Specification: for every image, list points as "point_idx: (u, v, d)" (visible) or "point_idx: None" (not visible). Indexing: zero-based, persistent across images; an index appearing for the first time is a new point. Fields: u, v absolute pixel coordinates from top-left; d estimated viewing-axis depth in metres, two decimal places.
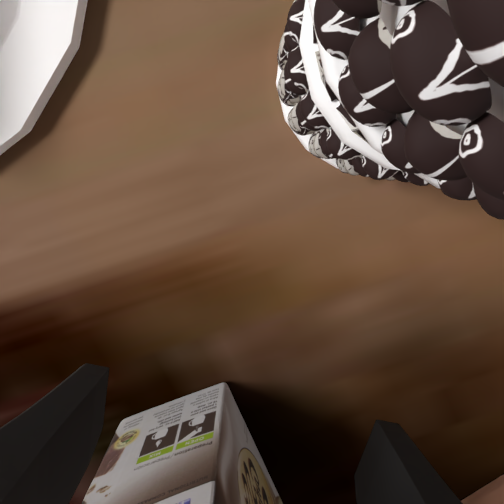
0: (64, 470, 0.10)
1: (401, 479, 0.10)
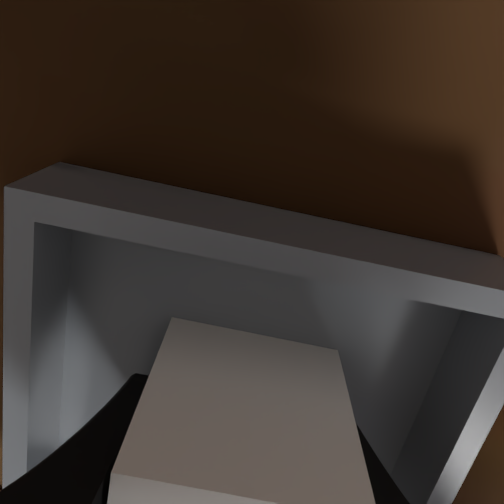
0: None
1: None
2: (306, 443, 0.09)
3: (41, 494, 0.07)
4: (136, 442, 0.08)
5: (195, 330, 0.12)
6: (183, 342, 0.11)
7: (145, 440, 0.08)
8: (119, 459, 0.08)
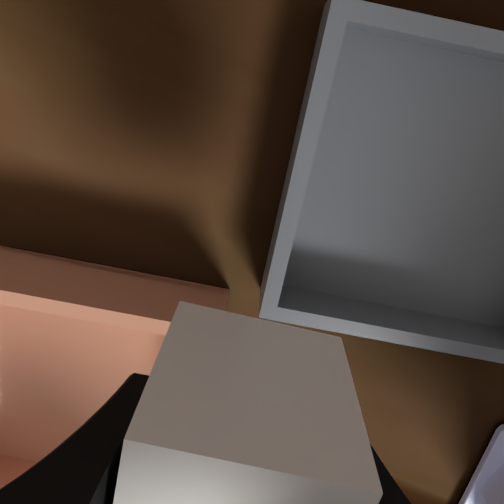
0: None
1: None
2: (311, 420, 0.09)
3: (39, 493, 0.07)
4: (147, 412, 0.08)
5: (202, 313, 0.12)
6: (191, 324, 0.11)
7: (156, 411, 0.08)
8: (131, 427, 0.08)
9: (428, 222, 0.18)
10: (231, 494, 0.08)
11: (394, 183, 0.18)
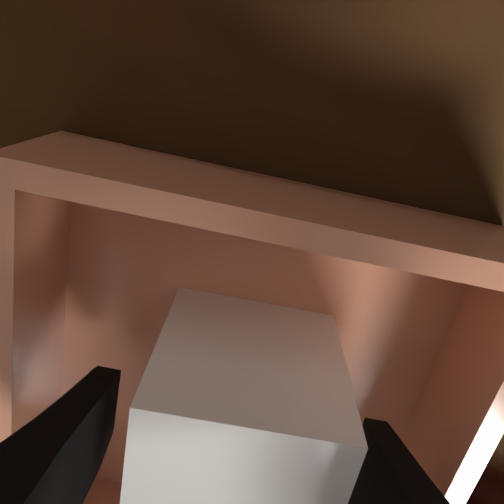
0: (78, 473, 0.10)
1: (388, 476, 0.10)
2: (303, 387, 0.10)
3: None
4: (150, 385, 0.09)
5: (200, 298, 0.13)
6: (190, 307, 0.12)
7: (159, 384, 0.09)
8: (136, 398, 0.09)
9: None
10: (230, 455, 0.09)
11: None
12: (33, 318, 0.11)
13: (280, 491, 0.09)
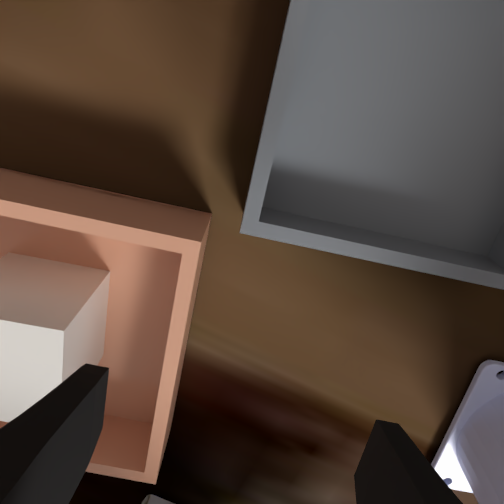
0: (64, 470, 0.10)
1: (401, 479, 0.10)
2: (49, 304, 0.17)
3: None
4: None
5: (19, 258, 0.20)
6: (7, 263, 0.19)
7: None
8: None
9: (414, 142, 0.18)
10: None
11: (380, 99, 0.17)
12: None
13: (24, 358, 0.16)
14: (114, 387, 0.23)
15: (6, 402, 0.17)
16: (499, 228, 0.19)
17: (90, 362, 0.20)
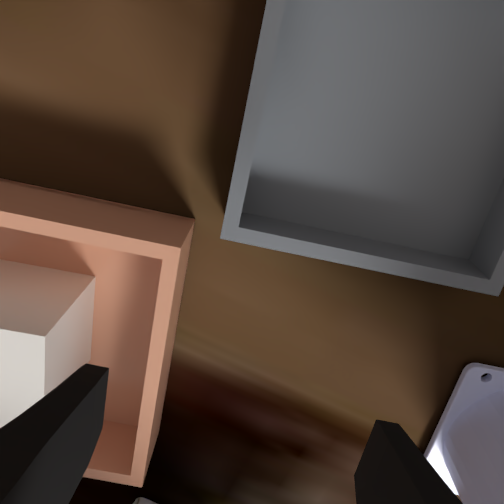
0: (64, 470, 0.10)
1: (401, 479, 0.10)
2: (32, 310, 0.17)
3: None
4: None
5: (5, 264, 0.20)
6: None
7: None
8: None
9: (392, 147, 0.18)
10: None
11: (358, 105, 0.17)
12: None
13: (6, 363, 0.16)
14: None
15: None
16: (480, 232, 0.19)
17: (76, 366, 0.20)
